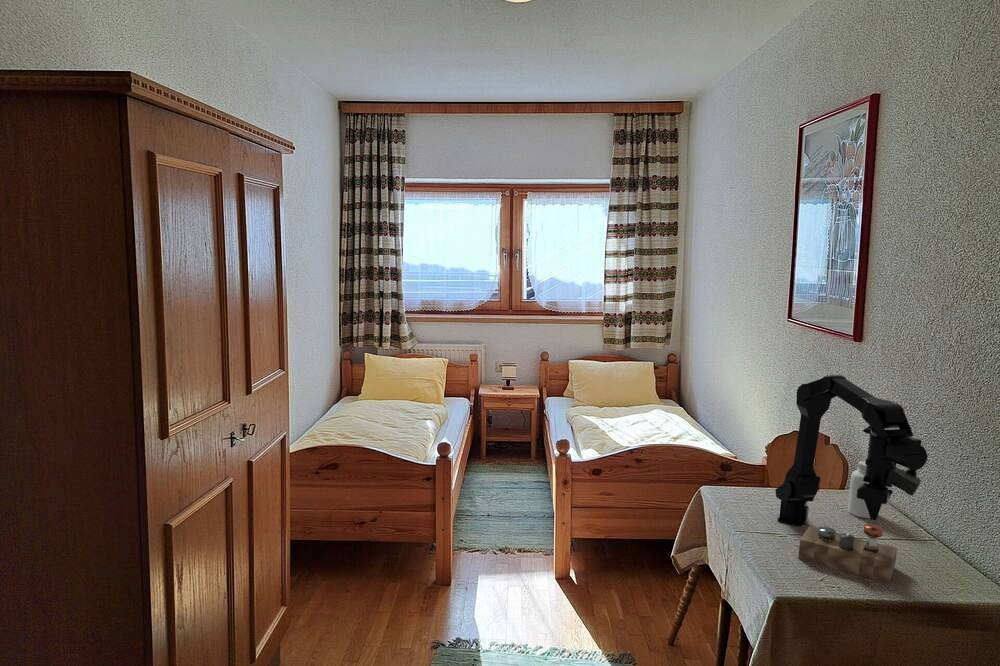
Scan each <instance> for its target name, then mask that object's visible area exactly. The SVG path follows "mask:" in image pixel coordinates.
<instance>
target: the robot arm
mask: <svg viewBox="0 0 1000 666" xmlns="http://www.w3.org/2000/svg"><path fill="white" fill-rule="evenodd" d="M836 397H837V398H839V399H841V400H842V401H844V402H845V403H847V404H849V405H850V406H852V407H853V408H854V409H856V410H857V411H859V413H861V418H862V419H863V420H864V421H865V422H866V423H867V424H868V425H869V426H867V427H865V428H864V429H863V430H862V432H863V433H864V434H865V433H866V434H868V435H869V439H868V447H867V448H868V449H867V457H866V459H865V460H864V461H865V464H866V473H865V476H864V479H863V481H865V482H869V484H867V483H864V484H862V485H860V486H859V488H858V489H857V498H859V499H863V500H864V501H865V504H866V506H867V509H868V512H869V515H870V518H869V519H870V520H871V521H877V519H878V516H879V514H880V511H881V508H882V505H887V504H888V502H889V500H890V498H891V495H892V494H893V491H894V490H892V489H889V488H892V487H893V486H894V487H896V488H897V489H900V490H901V491H903V492H905V493H906V494H907V495H909V496H911V497H912V496H914V494H915V492H916V491H917V490H918V488H919V486H920V484H921V483H922V480H921V478H920V477H919V476H918V471H919V470H921V469H922V468H923V467H924V466H925V464H926V463H927V461H928V453H927V450H926V448H925V447H924V446H923V445H922V440H921V439H919V438H913V437H914V433H913V431H912V427H911V425H910V423H909V420H908V418H907V416H906V413H905V410H904V408H903V405H902V406H901V404H898V403H897V402H893V401H891V400H888V399H882V398H879V397H876V396H874V395H872V394H871V393H869V392H867V390H864V389H862V388H860V387H859V386H858V385H856V384H854V383H853V382H852V381H849V380H848V379H847V378H846V377H845V376H843V375H840V374H837V375H836V374H835V375H833V374H832V375H831V374H830V375H829V374H828V375H825V376H823V377H822V378H820V379H817V380H813V381H810V382H808V383H802V384H801V385H799V386H798V387H797V390H796V400H795V401H796V403H795V404H796V407H797V409H798V411H799V413H800V420H799V427H798V433H797V439H796V440H797V441H796V446H795V447H796V448H795V454H794V461H793V465H792V466H791V467H790V468H789V469H788V471H787V472H786V473H785V477H784V481H783V483H781V484H780V485H779V486H778V487H777V488H776V489H775V497H776V499H778V500H780V508H779V517H778V518H777V522H780V523H784V524H790V525H793V526H796V527H800V526H802V527H803V526H804V524H806V523H807V522H808V518H809V510H810V509H809V508H810V507H809V505H808V502H813V501H814V499H815V497H816V496H817V493H818V492H819V491H820V482H821V476H819V475H817V473H816V471H815V468H814V467H815V460H816V453H817V447H818V441H819V435H820V434H819V433H820V426H821V419H822V418H823V416H824V415H825V414H826V413H827V412H828V410H829V409H830V405H831V403H832V402H831V401H832V399H835V398H836ZM897 465H899V466H902V467H904V468H907V469H905V470H904V469H901V468H898V467H897Z"/></svg>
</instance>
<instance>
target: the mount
mask: <svg viewBox="0 0 1000 666" xmlns="http://www.w3.org/2000/svg"><path fill="white" fill-rule="evenodd" d="M818 528H819V527H814V526H808V527H807V529H806V530H805V532H803V533H804V534H803V535H802V536H801V537H800V539H799V546H798V547H799V549H798V555H797V559H799V560H802V561H806V562H810V563H813V564H817V565H821V566H824V567H827V568H831V569H835V570H838V571H842V572H847V573H850V574H853V575H857V576H859V577H860V576H861V577H865V578H868V579H873V580H874V581H878V582H883V583H885V584H890V582H891V579H892V576H893V573H894V570H895V568H896V559H897V551H898V548H897V547H894V546H890V545H886V544H882V543H877V551H876V553H874V552H870V551H866V550H865V548H866V539H862V538H859V537H858V538H857V537H854V544H853V550H851V551H847V550H843V549H841V548H840V547H839V543H840V535H841V534H842V533H837V532H836V536H835V539H833V540H831V542H830V541H826V540H823V539H821V537H819V536H818Z"/></svg>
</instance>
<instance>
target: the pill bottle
mask: <svg viewBox="0 0 1000 666" xmlns="http://www.w3.org/2000/svg"><path fill="white" fill-rule="evenodd" d="M865 461H866V460H859V461H858V462H857V468H856V469H855V470H853V471H852V473H851V474H850V475H851V476H850V482H849V483H850V484H849V485H850V486H849V491H848V492H849V493H848V501H847V502H848V503H847V510H848V511H847V512H848V513H849V514H851V515H853V516H855V517H857V518H863V519H871V518H870V515H869V512H868V509H867V506H866V504H865V501H864V500H863V499H859V498H857V489H858V488H859V486H860V485H862V484H864V483H867V484H869V482H865V481H863V479H864V476H865V473H866V464H865Z"/></svg>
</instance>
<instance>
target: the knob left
mask: <svg viewBox="0 0 1000 666" xmlns="http://www.w3.org/2000/svg"><path fill="white" fill-rule="evenodd" d="M817 528H818V536H819V537H821V539H823V540H826V541H830V542H831V540H833V539H835V536H836V533H837V531H836V530H835V529H834V528H831V527H828V526H820V527H817Z"/></svg>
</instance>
